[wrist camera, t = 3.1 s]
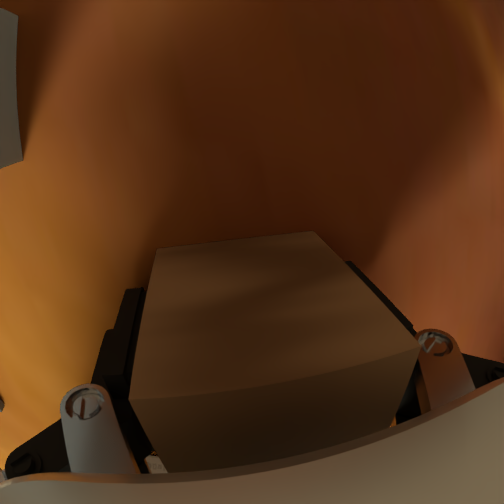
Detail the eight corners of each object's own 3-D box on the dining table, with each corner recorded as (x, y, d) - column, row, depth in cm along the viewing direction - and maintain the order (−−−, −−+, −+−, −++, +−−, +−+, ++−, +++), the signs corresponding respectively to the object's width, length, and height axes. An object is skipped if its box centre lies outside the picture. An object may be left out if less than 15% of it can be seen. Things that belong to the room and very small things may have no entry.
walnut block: (312, 230, 10) (421, 346, 5) (307, 347, 12) (367, 471, 7) (157, 248, 10) (128, 399, 4) (182, 366, 12) (190, 507, 6)
